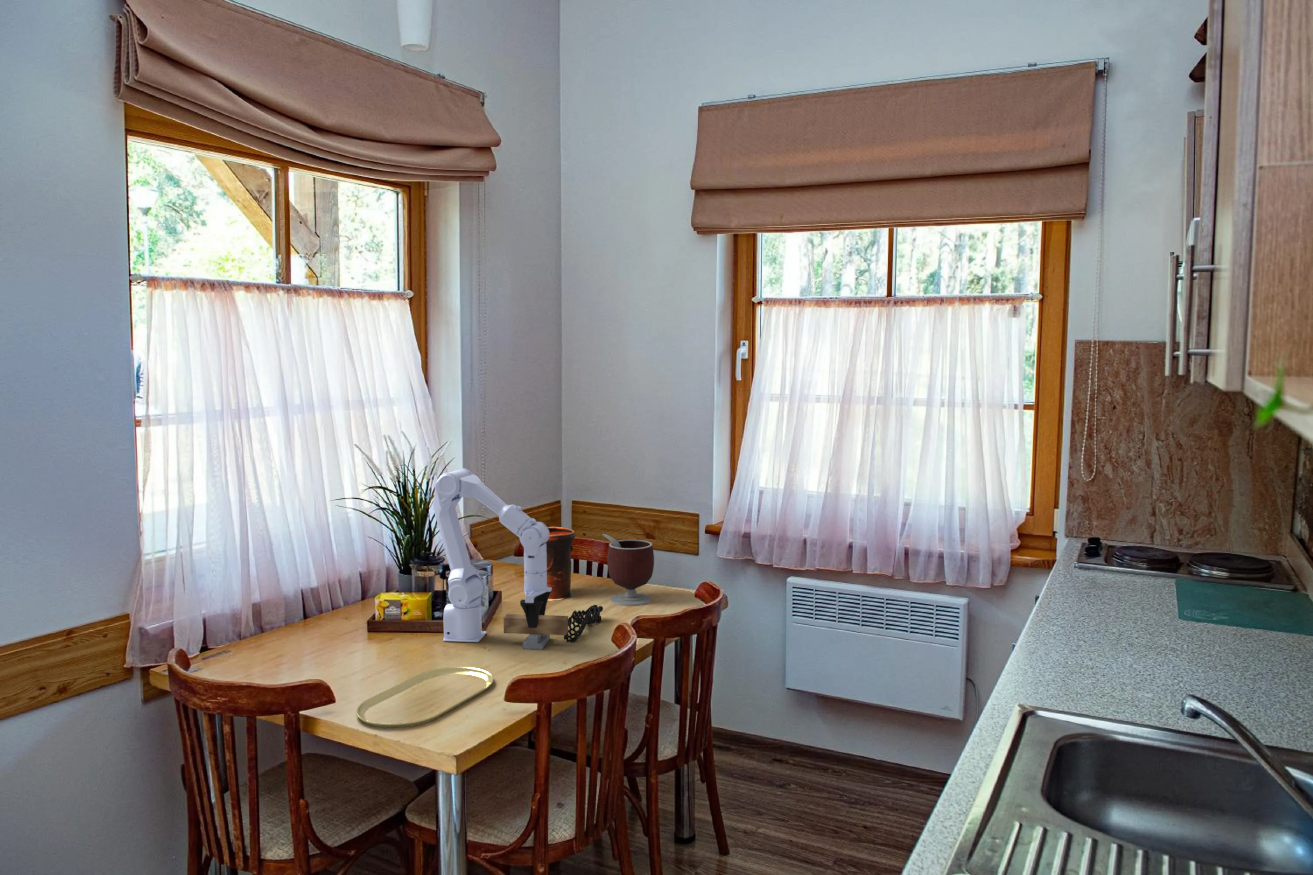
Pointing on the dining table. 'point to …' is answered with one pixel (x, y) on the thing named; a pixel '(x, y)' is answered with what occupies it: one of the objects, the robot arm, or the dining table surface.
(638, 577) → the mate gourd
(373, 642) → the dining table surface
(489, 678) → the serving platter
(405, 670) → the dining table surface
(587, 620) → the decorative element
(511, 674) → the dining table surface
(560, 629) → the beam
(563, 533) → the vessel
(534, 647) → the fulcrum
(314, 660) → the dining table surface
